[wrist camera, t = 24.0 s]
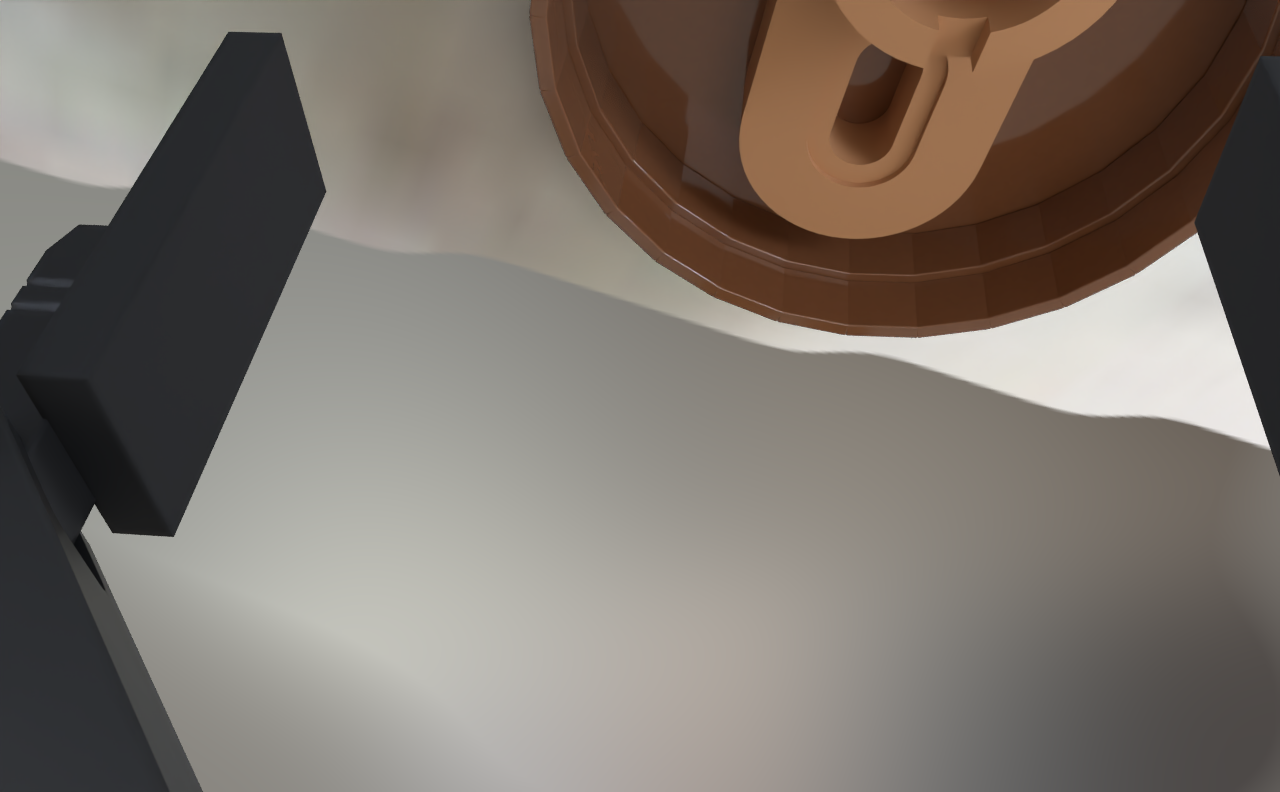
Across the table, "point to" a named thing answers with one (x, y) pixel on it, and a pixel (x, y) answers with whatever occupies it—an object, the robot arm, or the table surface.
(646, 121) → the brown shallow bowl
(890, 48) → the bracket
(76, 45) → the table surface
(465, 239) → the table surface
